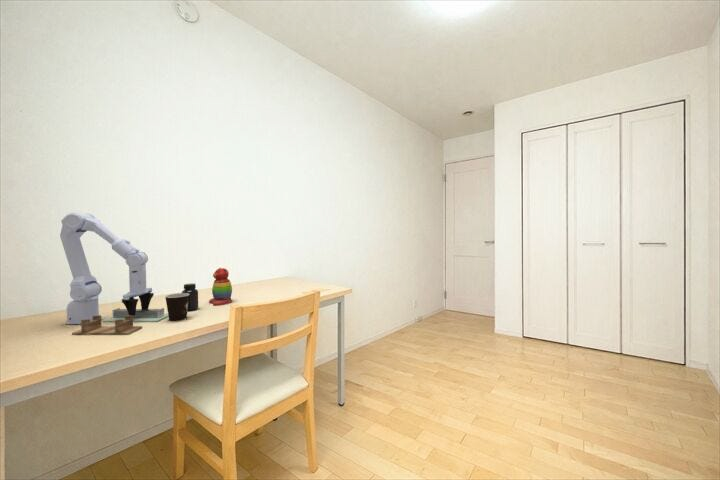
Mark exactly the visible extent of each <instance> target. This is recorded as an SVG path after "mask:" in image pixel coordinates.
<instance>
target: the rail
mask: <svg viewBox="0 0 720 480" xmlns="http://www.w3.org/2000/svg"><path fill="white" fill-rule="evenodd" d="M164 314H165V308H164V307H162V308H148V309H142V308H136V314H135V315H134V316H133V318H161V317H163V316H164ZM111 315H112V317H113V318H125V316H126V315H129V314H128V311H127V309H126V308H120V307H118V308H114V309H113V310H112V313H111Z"/></svg>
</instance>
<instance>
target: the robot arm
mask: <svg viewBox="0 0 720 480" xmlns="http://www.w3.org/2000/svg"><path fill="white" fill-rule="evenodd" d="M61 225H62V226H61V229H60V234H59V237H60V240H61V244H62V247H63V250H64V253H65V256H66V260H67V262H68V266H69V269H70V272H71V275H72V281H71V282H70V283H69V287H70V291H69V296H70V298H71V299H72V300H70V302H69V303H68V304H67V305H66V322H64V324H65V325H81V320H83V319H90V321H91V320H93V316H94V315H100V310H99V309H100V308H99V305H100V303H99V295H100V294H101V293H102V290H103V289H102V288H103V287H102V285H101V284H100V283H99V282H98V280H97V278H96V277H95V276H93V275H92V273H91V270H90V267H89V263H88V261H87V257H86V254H85V251H84V247H83V244H82V241H81V237H83V235H84V234H85V233H86V232H93V233H95V234H97V235H98V236H99V237H100V238H102V239H103V240H105V241H106V242H107V243H109V244H110V245H111V249H112V250H113V252H115V253H116V254H118V255H119V256H120V257H121V258H122V259H123V260H125V263H126V265H127V266H128V273H129V275H128V276H129V277H128V278H129V280H128V281H129V292H127V293H125V294H123V295H122V298H121V303H123V305H124V307H125V309H127V311H128V314H129V315H133V316H134V315H135V314H136V309H137V304H138V303H139V300H140V307H141V308H140V309H150V308H149V307H150V304H151V301H152V299H153V297H154V292H153V287H147V268H146V267H147V266H146V263H148V261H149V257H148V254H146V252H145V251H140V249H139V248H137V247H135V246H133V245H132V244H131V241H130V240H128V239H124V238H122V239H120V238H119V237H118V236H117V235H115V234H114V233H113V232H112V231H111V230H110V229H109V228H108V227H106V225H104V224H103V223H102V222H101V220H100V219H98V218H97V217H96V216H94V214H91V213H77V212H69V213H68V214H66V215H65V216H64V217H63V218H62V219H61ZM136 297H138V298H136ZM105 319H106V317H105V316H101V320H105Z"/></svg>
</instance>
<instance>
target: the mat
mask: <svg viewBox="0 0 720 480" xmlns="http://www.w3.org/2000/svg"><path fill="white" fill-rule="evenodd" d="M167 318H169V316H168V313H164V316H163V317H161V318H133V323H158V322H161V321H163V320H165V319H167ZM116 319H123V320H125V318H113V316H112V317H109V318H105V319H102V323H115V320H116Z"/></svg>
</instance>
